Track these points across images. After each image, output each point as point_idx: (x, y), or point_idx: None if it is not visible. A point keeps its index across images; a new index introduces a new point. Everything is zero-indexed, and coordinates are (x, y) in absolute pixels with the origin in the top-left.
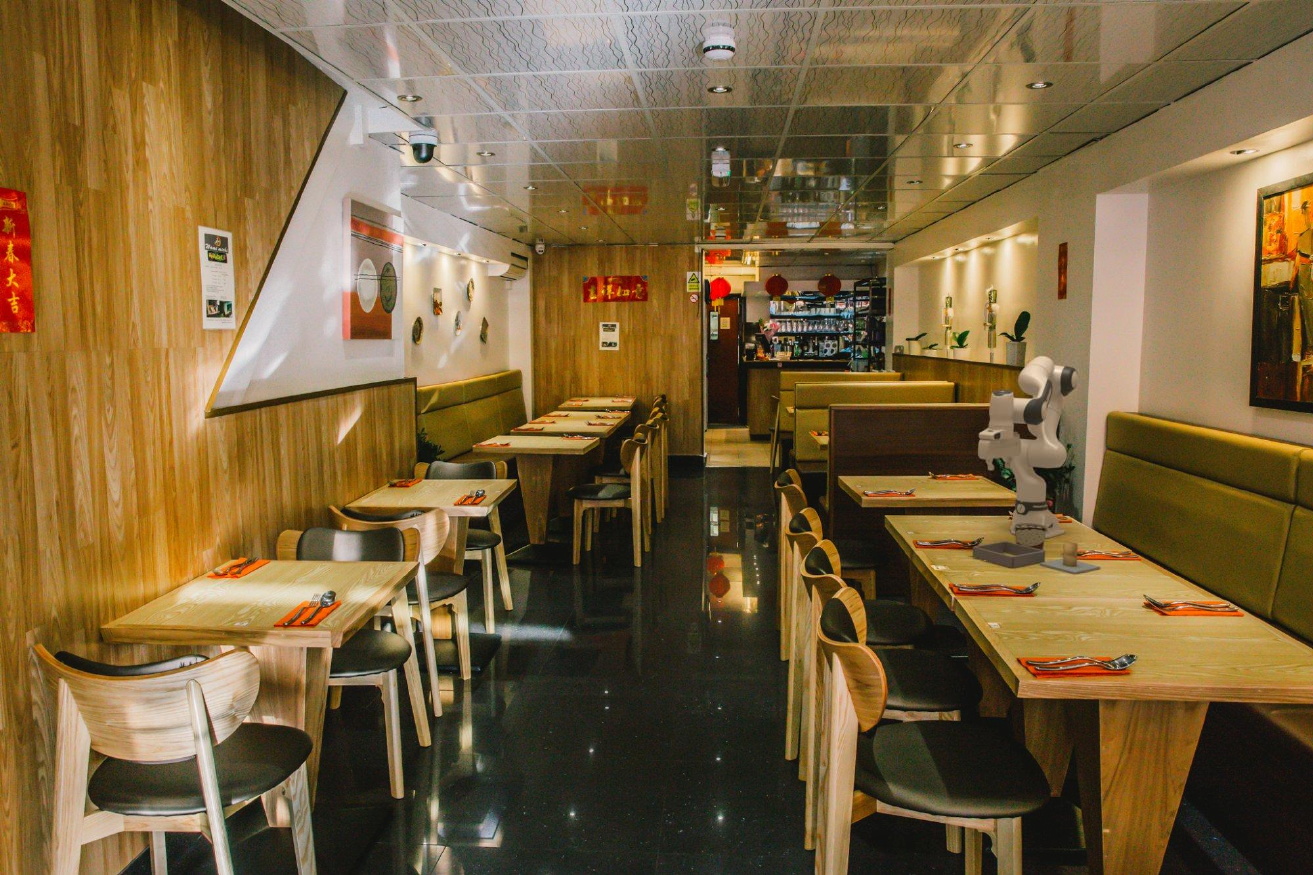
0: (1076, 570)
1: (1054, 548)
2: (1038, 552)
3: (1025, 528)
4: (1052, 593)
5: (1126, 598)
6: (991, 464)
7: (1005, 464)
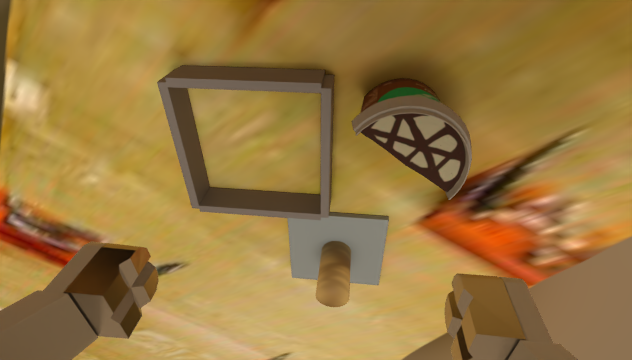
0: (307, 274)
1: (513, 133)
2: (296, 218)
3: (389, 151)
4: (162, 298)
5: (249, 348)
6: (50, 357)
7: (469, 324)
